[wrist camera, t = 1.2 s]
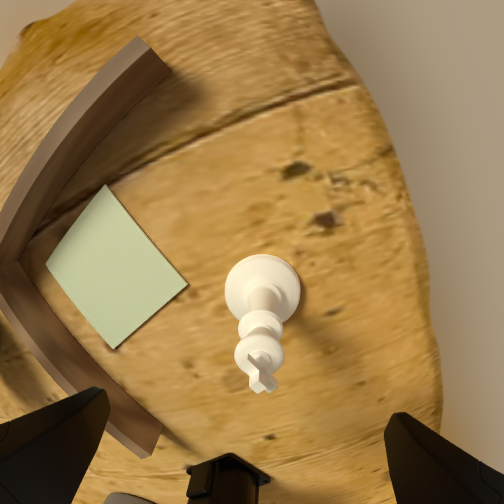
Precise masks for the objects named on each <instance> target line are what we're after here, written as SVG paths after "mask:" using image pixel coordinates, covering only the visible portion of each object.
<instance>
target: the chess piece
mask: <svg viewBox="0 0 504 504" xmlns="http://www.w3.org/2000/svg"><path fill="white" fill-rule="evenodd" d="M300 292H301V288H300V281H299V278H298V276H297V274H296V272H295V271H294V269H293V268H292V267H291V266H290V265H289V264H288V263H287V262H286V261H284V260H283V259H281V258H279V257H276V256H273V255H268V254H258V255H252V256H249V257H247V258H245V259H243V260H241V261H240V262H238V263H237V264H236V265H235V266H234V267H233V268H232V270H231V271H230V273H229V274H228V277H227V279H226V283H225V299H226V303H227V305H228V308H229V310H230V311H231V313H232V314H233V315H234V316H235V317H236V318H237V319H238V320H239V321H240V323H239V326H238V332H239V336H240V338H241V341H240V342H239V343H238V345H237V347H236V349H235V353H234V357H235V361H236V364H237V365H238V367H239V368H240V369H241V370H242V371H244V372H245V373H247V374H248V375H249V376H250V381H249V387H250V388H251V389H252V390H253V391H254V392H256V393H257V394H258V393H260V392H261V391H263V390H266V391H267V392H268V393H270V392H271V391H273V390H275V389H276V388H278V380H276V379H275V378H274V377H273V376H272V375H271V374H272V373H274V372H276V371H277V370H278V369H279V368H280V367H281V365H282V364H283V361H284V350H283V347H282V345H281V344H280V342H279V341H280V339H281V337H282V335H283V324H282V323H283V322H285V321H286V320H287V319H288V318H290V317H291V315H292V314H293V313H294V312H295V310H296V308H297V306H298V303H299V300H300Z"/></svg>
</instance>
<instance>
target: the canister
mask: <svg viewBox="0 0 504 504" xmlns="http://www.w3.org/2000/svg"><path fill="white" fill-rule="evenodd" d="M104 504H153V503H151V502H149V501H146V500H144V499H141V498H139V497H135V496H132V495H128V494H123V493H111V494H110V495H109V496H108V497H107V498H106V500H105V502H104Z"/></svg>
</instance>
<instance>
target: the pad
mask: <svg viewBox="0 0 504 504" xmlns="http://www.w3.org/2000/svg"><path fill="white" fill-rule="evenodd" d="M45 265H46V266H47V268H48V269H49V271H50V272H51V273H52V275H53V276H54V278H55V279H56V281H57V282H58V283H59V285H60V286H61V287H62V289H63V290H64V291H65V293H66V294H67V295H68V297H69V298H70V299H71V301H72V302H73V303H74V304H75V306H76V307H77V308H78V309H79V311H80V312H81V313H82V314H83V316H84V317H85V318H86V319H87V320H88V322H89V323H90V324H91V325H92V326H93V327H94V329H95V330H96V331H97V332H98V333H99V334H100V335H101V337H102V338H103V339H104V340H105V341H106V342H107V343H108V344H109V345H110V346H111V348H112V349H114V348H115V347H116V346H117V345H119V344H120V343H121V342H122V341H123V340H124V339H125V338H126V337H128V336H129V335H130V334H131V333H132V332H133V331H134V330H136V329H137V328H138V327H139V326H140V325H141V324H142V323H144V322H145V321H146V320H147V319H148V318H149V317H150V316H152V315H153V314H154V313H155V312H156V311H157V310H159V309H160V308H161V307H162V306H163V305H164V304H165V303H167V302H168V301H169V300H170V299H171V298H172V297H174V296H175V295H176V294H177V293H178V292H179V291H181V290H182V289H183V288H184V287H185V286H186V285H187V284H188V283H187V282H186V281H185V279H184V278H183V277H182V276H181V275H180V274H179V273H178V272H177V270H176V269H175V268H174V267H173V266H172V265H171V263H170V262H169V261H168V260H167V259H166V258H165V256H164V255H163V254H162V253H161V252H160V251H159V249H158V248H157V247H156V246H155V245H154V243H153V242H152V241H151V240H150V239H149V237H148V236H147V235H146V234H145V233H144V231H143V230H142V229H141V228H140V227H139V225H138V224H137V223H136V222H135V220H134V219H133V218H132V217H131V215H130V214H129V213H128V212H127V210H126V209H125V208H124V207H123V205H122V204H121V203H120V201H119V200H118V199H117V198H116V196H115V195H114V194H113V192H112V191H111V190H110V189H109V187H108V186H107V185H106V184H105V185H104V186H103V187H102V188H101V190H100V191H99V192H98V193H97V194H96V196H95V197H94V198H93V199H92V200H91V202H90V203H89V204H88V205H87V207H86V208H85V209H84V210H83V212H82V213H81V214H80V216H79V217H78V218H77V220H76V221H75V222H74V224H73V225H72V226H71V228H70V229H69V230H68V232H67V233H66V234H65V236H64V237H63V239H62V240H61V241H60V243H59V244H58V246H57V247H56V249H55V250H54V252H53V253H52V255H51V256H50V258H49V259H48V261H47V262H46V264H45Z"/></svg>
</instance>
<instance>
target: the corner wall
mask: <svg viewBox="0 0 504 504" xmlns="http://www.w3.org/2000/svg"><path fill="white" fill-rule="evenodd" d="M171 72H172V71H171V70H170V69H169V68H168V67H167V66H166V64H165V63H164V62H163V61H162V60H161V59H160V57H159V56H158V55H157V54H156V53H155V52H154V51H153V50H152V48H151V47H150V46H149V45H147V44H146V43H145V42H144V41H143V40H142V39H141V38H140V37H139V36H138V35H137V36H136V37H135V38H134V39H133V40H132V41H130V42H129V43H128V44H127V45H126V46H125V47H124V48H123V49H122V50H121V51H119V52H118V53H117V54H116V55H115V56H114V57H113V58H112V59H111V60H110V61H109V62H108V63H107V64H106V65H105V66H104V67H103V68H102V69H101V70H100V71H99V72H98V73H97V74H96V75H95V76H94V77H93V78H92V79H91V81H90V82H89V83H88V84H87V85H86V86H85V87H84V88H83V89H82V90H81V92H80V93H79V94H78V95H77V96H76V97H75V99H74V100H73V101H72V102H71V103H70V105H69V106H68V107H67V108H66V110H65V111H64V112H63V113H62V115H61V116H60V117H59V118H58V120H57V121H56V122H55V124H54V125H53V126H52V128H51V129H50V130H49V132H48V133H47V135H46V136H45V137H44V139H43V140H42V142H41V143H40V145H39V146H38V148H37V149H36V151H35V152H34V154H33V155H32V157H31V158H30V160H29V162H28V163H27V165H26V166H25V168H24V170H23V171H22V173H21V175H20V177H19V178H18V180H17V182H16V184H15V185H14V187H13V189H12V191H11V193H10V195H9V196H8V198H7V200H6V202H5V204H4V206H3V208H2V210H1V212H0V309H1V311H2V312H3V314H4V316H5V317H6V319H7V320H8V322H9V323H10V325H11V326H12V327H13V329H14V330H15V332H16V333H17V335H18V336H19V337H20V339H21V340H22V341H23V343H24V344H25V345H26V347H27V348H28V349H29V351H30V352H31V353H32V354H33V356H34V357H35V358H36V359H37V361H38V362H39V363H40V364H41V366H42V367H43V368H44V369H45V370H46V371H47V373H48V374H49V375H50V376H51V377H52V378H53V379H54V381H55V382H56V383H57V384H58V385H59V386H60V387H61V388H62V389H63V390H64V391H65V392H66V393H67V395H68V396H72V395H74V394H76V393H79V392H81V391H83V390H85V389H88V388H90V387H92V386H97V387H101V388H104V389H105V390H106V391H107V395H108V399H109V402H110V406H111V413H110V416H109V418H108V421H107V424H106V427H105V429H104V430H106V431H107V432H108V433H109V434H110V435H111V436H113V437H114V438H115V439H116V440H118V441H119V442H120V443H121V444H123V445H124V446H125V447H126V448H128V449H129V450H130V451H132V452H133V453H134V454H136V455H137V456H138V457H140V458H141V459H143V458H146V457H149V456H151V455H152V453H153V450H154V448H155V446H156V443H157V441H158V438H159V436H160V434H161V431H162V429H163V426H164V425H163V424H162V423H161V422H159V421H158V420H157V419H156V418H154V417H153V416H152V415H151V414H150V413H149V412H147V411H146V410H145V409H144V408H143V407H142V406H140V405H139V404H138V403H137V402H136V401H135V400H134V399H133V398H132V397H130V396H129V395H128V394H127V393H126V392H125V391H124V390H123V389H122V388H121V387H120V386H119V385H118V384H117V383H116V382H115V381H114V380H113V379H112V378H111V377H110V376H109V375H108V374H107V373H106V372H105V371H104V370H103V369H102V368H101V367H100V366H99V365H98V364H97V363H96V362H95V361H94V360H93V359H92V357H91V356H90V355H89V354H88V353H87V352H86V351H85V350H84V349H83V347H82V346H81V345H80V344H79V343H78V342H77V340H76V339H75V338H74V337H73V336H72V335H71V333H70V332H69V331H68V330H67V328H66V327H65V326H64V325H63V324H62V322H61V321H60V320H59V318H58V317H57V316H56V315H55V313H54V312H53V311H52V309H51V308H50V307H49V305H48V304H47V303H46V301H45V300H44V298H43V297H42V296H41V294H40V293H39V291H38V290H37V288H36V287H35V285H34V284H33V283H32V281H31V280H30V278H29V276H28V275H27V273H26V272H25V270H24V269H23V267H22V265H21V264H20V262H19V259H20V257H21V255H22V253H23V251H24V249H25V248H26V246H27V244H28V242H29V241H30V239H31V237H32V236H33V234H34V232H35V231H36V229H37V227H38V226H39V224H40V222H41V221H42V219H43V218H44V216H45V215H46V213H47V212H48V210H49V209H50V207H51V206H52V204H53V203H54V201H55V200H56V198H57V197H58V195H59V194H60V193H61V191H62V190H63V188H64V187H65V186H66V184H67V183H68V181H69V180H70V179H71V177H72V176H73V175H74V174H75V172H76V171H77V170H78V168H79V167H80V166H81V165H82V163H83V162H84V161H85V160H86V158H87V157H88V156H89V155H90V153H91V152H92V151H93V150H94V149H95V148H96V146H97V145H98V144H99V143H100V142H101V141H102V139H103V138H104V137H105V136H106V135H107V134H108V133H109V132H110V131H111V129H112V128H113V127H114V126H115V125H116V124H117V123H118V122H119V121H120V120H121V119H122V118H123V117H124V116H125V115H126V114H127V113H128V112H129V111H130V110H131V109H132V108H133V107H134V106H135V105H136V104H137V103H138V102H139V101H140V100H141V99H142V98H143V97H144V96H145V95H146V94H147V93H148V92H149V91H150V90H151V89H152V88H154V87H155V86H156V85H157V84H158V83H159V82H160V81H161V80H162V79H164V78H165V77H166V76H167V75H168V74H169V73H171Z"/></svg>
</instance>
